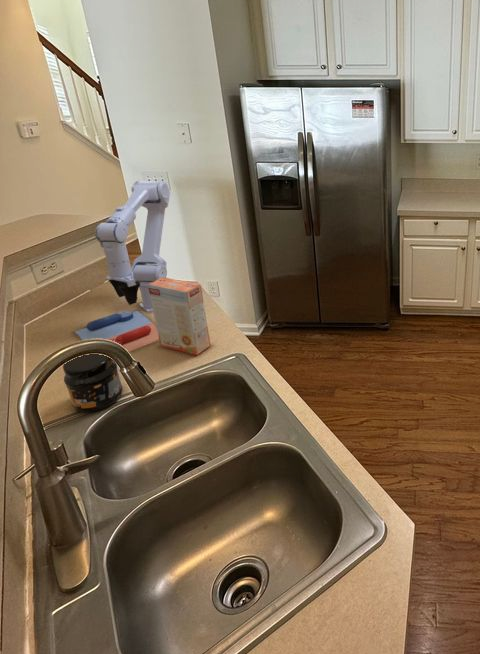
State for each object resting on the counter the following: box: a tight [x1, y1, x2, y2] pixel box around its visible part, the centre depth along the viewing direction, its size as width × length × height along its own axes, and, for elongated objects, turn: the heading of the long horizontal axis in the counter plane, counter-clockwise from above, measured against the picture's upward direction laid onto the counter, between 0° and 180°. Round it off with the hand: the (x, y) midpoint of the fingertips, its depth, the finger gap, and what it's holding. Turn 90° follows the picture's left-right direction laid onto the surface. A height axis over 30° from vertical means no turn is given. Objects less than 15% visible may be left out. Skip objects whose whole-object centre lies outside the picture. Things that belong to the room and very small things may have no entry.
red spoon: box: [109, 326, 151, 345], centre depth 130 cm, size 13×5×3 cm, turn 141°
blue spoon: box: [85, 310, 133, 330], centre depth 139 cm, size 13×5×3 cm, turn 141°
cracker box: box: [148, 277, 211, 356], centre depth 126 cm, size 14×6×21 cm, turn 71°
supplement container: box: [62, 354, 124, 413], centre depth 105 cm, size 10×10×12 cm
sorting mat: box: [74, 310, 159, 353], centre depth 134 cm, size 18×24×1 cm
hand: (127, 299), depth 136 cm, fingers open, 7 cm apart
